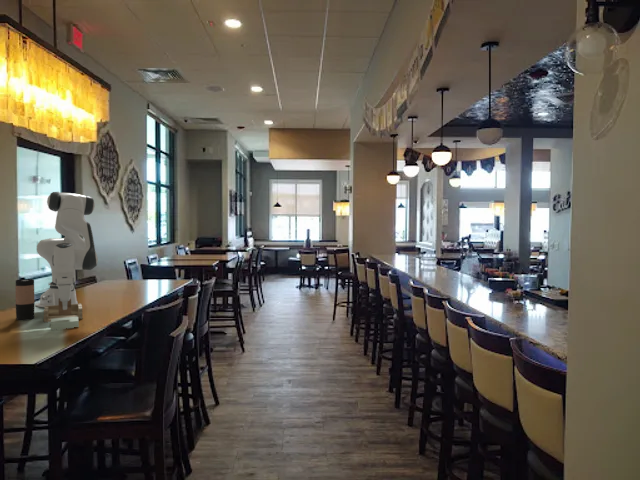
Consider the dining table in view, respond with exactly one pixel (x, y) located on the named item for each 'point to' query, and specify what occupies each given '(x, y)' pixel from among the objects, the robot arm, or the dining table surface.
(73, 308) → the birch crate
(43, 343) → the dining table surface
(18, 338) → the dining table surface
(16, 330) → the dining table surface
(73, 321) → the sage stand
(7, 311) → the dining table surface
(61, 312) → the walnut block
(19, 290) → the travel mug
